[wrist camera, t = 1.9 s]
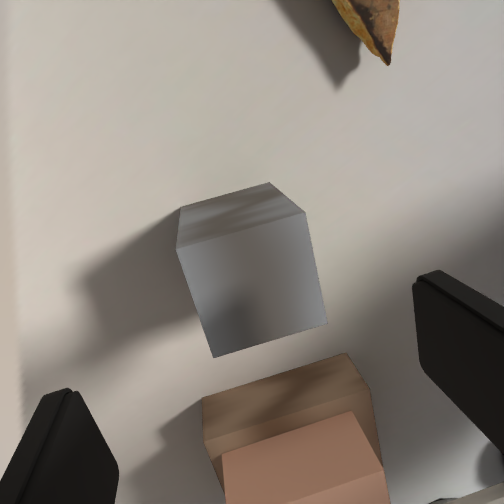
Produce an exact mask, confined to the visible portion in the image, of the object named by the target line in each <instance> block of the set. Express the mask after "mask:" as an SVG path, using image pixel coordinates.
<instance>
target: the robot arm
mask: <svg viewBox="0 0 504 504" xmlns="http://www.w3.org/2000/svg"><path fill="white" fill-rule="evenodd" d="M412 292H413V302H414V312H415V322H416V332H417V342H418V352H419V361H420V364H421V367H422V369H423V370H424V372H425V373H426V374H427V375H428V376H429V377H430V378H431V380H432V381H433V382H434V383H435V384H436V385H437V386H438V387H439V388H440V389H441V390H442V391H443V392H444V393H445V394H446V395H447V396H448V397H449V398H450V399H451V400H452V401H453V402H454V403H455V404H456V405H457V406H458V408H459V409H460V410H461V411H462V412H463V413H464V414H465V415H466V416H467V417H468V418H469V419H470V420H471V421H472V422H473V423H474V424H475V425H476V426H477V427H478V428H479V429H480V430H481V431H482V432H483V433H484V434H485V436H486V437H487V438H488V439H489V440H490V441H491V442H492V443H493V444H494V445H495V446H496V447H497V448H498V449H499V450H500V451H501V452H502V453H503V454H504V307H503V306H501V305H499V304H498V303H496V302H494V301H493V300H491V299H489V298H487V297H486V296H484V295H482V294H480V293H479V292H477V291H475V290H474V289H472V288H470V287H468V286H467V285H465V284H463V283H461V282H460V281H458V280H456V279H455V278H453V277H451V276H449V275H448V274H446V273H444V272H443V271H440V270H436V271H433V272H430V273H427V274H424V275H420V276H418V277H417V280H416V283H414V284H413V286H412ZM118 480H119V469H118V464H117V462H116V460H115V458H114V456H113V454H112V453H111V451H110V449H109V447H108V445H107V443H106V441H105V439H104V437H103V436H102V434H101V432H100V430H99V428H98V426H97V424H96V422H95V420H94V419H93V417H92V415H91V413H90V411H89V409H88V407H87V405H86V404H85V402H84V400H83V398H82V396H81V394H80V393H79V392H78V391H74V392H73V391H72V390H71V389H69V388H65V389H62V390H59V391H55V392H52V393H49V394H46V395H44V396H43V397H42V399H41V400H40V402H39V404H38V406H37V408H36V410H35V412H34V414H33V416H32V418H31V420H30V422H29V424H28V426H27V428H26V430H25V432H24V435H23V437H22V439H21V441H20V443H19V445H18V447H17V449H16V451H15V453H14V455H13V457H12V459H11V461H10V463H9V465H8V467H7V469H6V471H5V473H4V475H3V477H2V479H1V481H0V504H115V498H116V492H117V486H118ZM444 504H504V482H502V483H499V484H497V485H494V486H491V487H488V488H486V489H483V490H480V491H477V492H475V493H472V494H469V495H466V496H464V497H461V498H458V499H455V500H453V501H450V502H447V503H444Z"/></svg>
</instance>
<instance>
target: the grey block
mask: <svg viewBox="0 0 504 504" xmlns="http://www.w3.org/2000/svg"><path fill="white" fill-rule="evenodd" d="M176 252H177V255H178V258H179V261H180V264H181V266H182V269H183V272H184V275H185V278H186V281H187V284H188V287H189V289H190V292H191V295H192V298H193V301H194V304H195V307H196V310H197V313H198V315H199V318H200V321H201V324H202V327H203V330H204V333H205V336H206V338H207V341H208V344H209V347H210V350H211V353H212V356H213V358H216V357H219V356H223V355H226V354H229V353H232V352H236V351H239V350H242V349H246V348H249V347H252V346H255V345H259V344H262V343H265V342H269V341H272V340H275V339H278V338H282V337H285V336H288V335H292V334H295V333H298V332H302V331H305V330H308V329H311V328H315V327H318V326H321V325H325V324H328V322H327V317H326V312H325V307H324V303H323V298H322V293H321V288H320V283H319V278H318V273H317V268H316V263H315V258H314V253H313V248H312V243H311V238H310V233H309V228H308V223H307V218H306V213H305V212H304V211H303V210H302V209H301V208H300V207H298V206H297V205H296V204H295V203H294V202H292V201H291V200H290V199H289V198H288V197H287V196H285V195H284V194H283V193H282V192H281V191H279V190H278V189H277V188H276V187H275V186H273V185H272V184H271V183H270V182H268V183H265V184H261V185H257V186H254V187H250V188H247V189H243V190H240V191H236V192H232V193H229V194H225V195H222V196H218V197H215V198H211V199H207V200H204V201H200V202H197V203H193V204H190V205H186V206H182V207H181V209H180V217H179V225H178V233H177V242H176Z"/></svg>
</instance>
